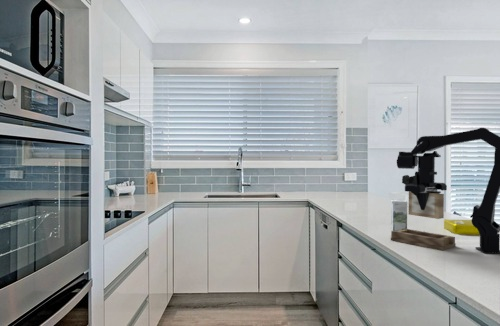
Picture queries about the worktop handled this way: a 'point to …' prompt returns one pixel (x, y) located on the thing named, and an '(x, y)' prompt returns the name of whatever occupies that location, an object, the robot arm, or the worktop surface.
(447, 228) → the element tile
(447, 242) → the walnut ledge
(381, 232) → the worktop surface
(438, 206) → the tan box
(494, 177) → the robot arm
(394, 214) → the syrup box
